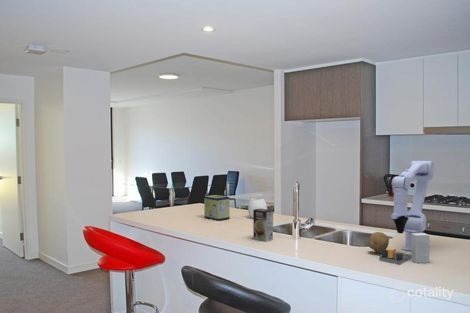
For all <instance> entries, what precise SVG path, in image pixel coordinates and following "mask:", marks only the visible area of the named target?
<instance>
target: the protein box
mask: <svg viewBox="0 0 470 313" xmlns="http://www.w3.org/2000/svg"><path fill="white" fill-rule="evenodd" d="M203 197H204V198H203V200H204V202H203V203H204V205H203V206H204V207H203V208H204V209H203V210H204V214H203V215H204V219H207V220H211V221H216V222H220V221H225V220H230V217H231V216H230V214H231V213H230V196H225V195H219V194H218V195H217V194H212V195H204V196H203Z"/></svg>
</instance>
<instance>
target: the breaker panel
mask: <svg viewBox="0 0 470 313" xmlns="http://www.w3.org/2000/svg"><path fill="white" fill-rule="evenodd" d="M379 260H380V262H386V263H390V264H394V263H395V264H396V265H399V264H400V265H402V264H404V263H405V262H408V261H409V260H412V253H411V254H410V253H405V252H400V251H399V252H398V251H396V257H394V258H389V257H388V249H386V250H383V251H382V253H381V256H379V258H378V261H379ZM403 262H404V263H403ZM401 263H402V264H401ZM395 264H394V265H395Z"/></svg>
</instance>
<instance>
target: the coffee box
mask: <svg viewBox="0 0 470 313" xmlns="http://www.w3.org/2000/svg"><path fill="white" fill-rule="evenodd" d="M252 219H253V227H252V228H253V240H256V241H262V242H265V243H267V242H270V241H273V240H274V210H273V209H268V208H267V209H261V208H260V209H254V210H253V218H252Z"/></svg>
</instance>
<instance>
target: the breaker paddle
mask: <svg viewBox="0 0 470 313" xmlns="http://www.w3.org/2000/svg"><path fill="white" fill-rule="evenodd" d="M387 250H388V257H389V258H394V257H396V252H397V250H396V248H392V247H390V248H387Z"/></svg>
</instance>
